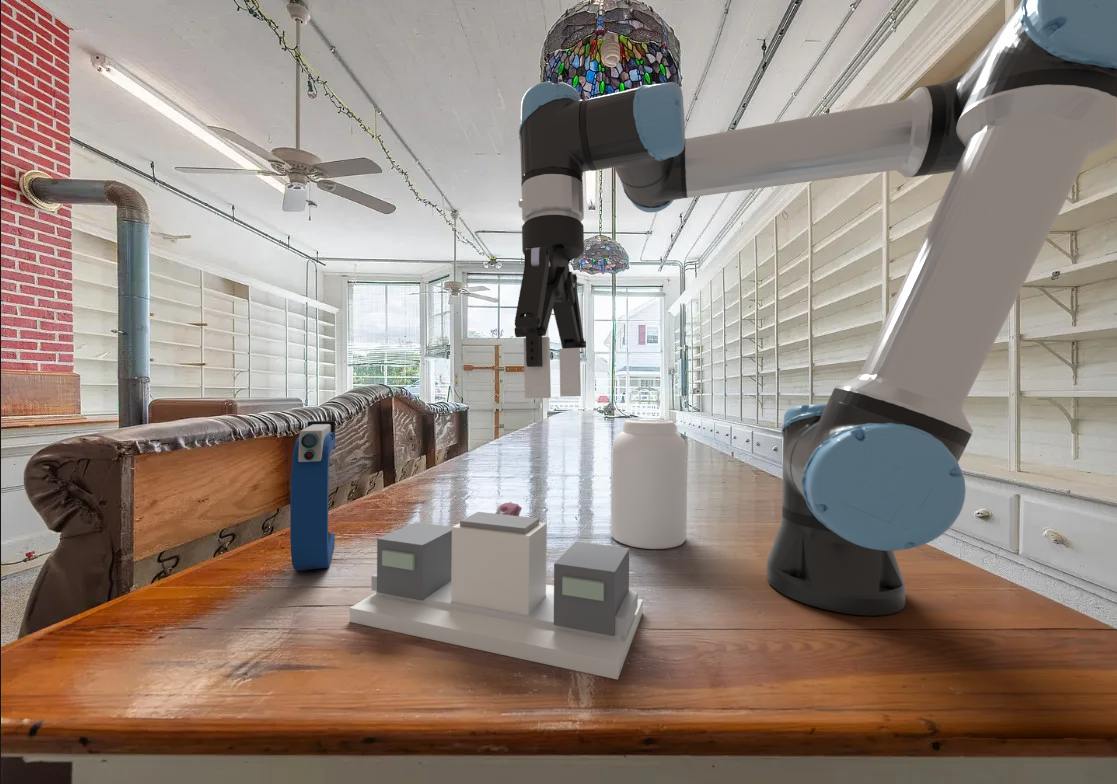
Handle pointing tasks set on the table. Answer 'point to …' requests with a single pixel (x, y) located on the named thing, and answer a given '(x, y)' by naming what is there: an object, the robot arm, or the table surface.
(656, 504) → the white jar
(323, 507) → the handheld scanner
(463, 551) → the block
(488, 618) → the board
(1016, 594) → the table surface
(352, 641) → the table surface
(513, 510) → the pink rounded piece
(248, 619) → the table surface
